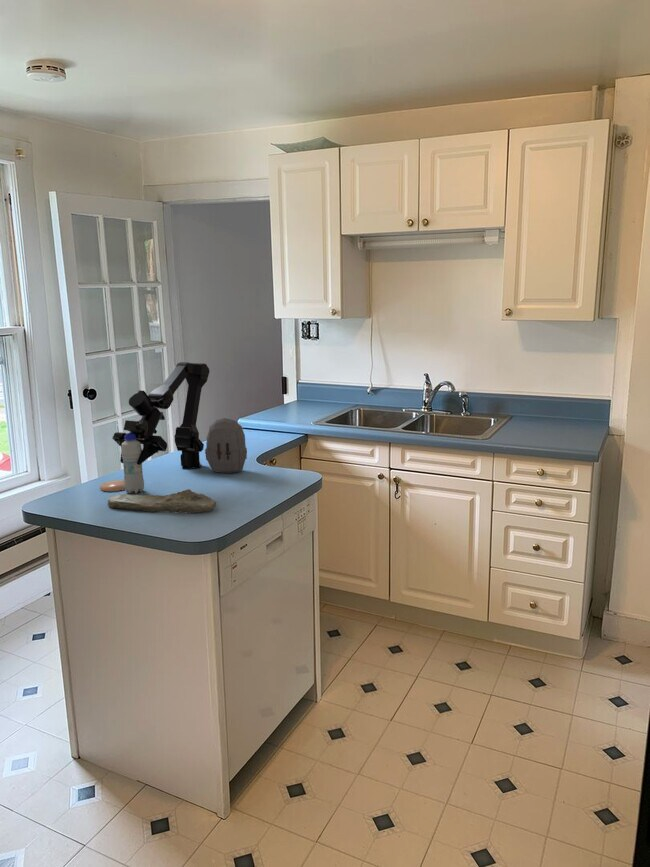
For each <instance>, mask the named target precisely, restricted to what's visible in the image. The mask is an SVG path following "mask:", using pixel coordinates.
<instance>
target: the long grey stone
mask: <svg viewBox="0 0 650 867" xmlns="http://www.w3.org/2000/svg"><path fill="white" fill-rule="evenodd" d="M107 506H108V507H109V508H110V507H111V508H112V509H113V508H114V509H116V508H117V509H124V510H132V511H144V512H156V511H157V512H168V513H175V512H178V513H186V512H187V513H186V514H194V513H203V512H208V511H209V512H210V511H211V512H212V511H213V510H215V508H216V507H217V502H216V501H215V499H212V497H210V496H207V495H205V494H204V493H197V492H196V491H195V492H194V491H192V490H191V489H185V490H182V491H178V492H176V493H171V494H169V495H168V494H166V495H154V494H153V495H152V494H148V495H145V494H128V493H127V494H125V493H122V494H121V493H120V494H116V495H115V494H114V495H113V496H110V497H109V498H108V500H107Z"/></svg>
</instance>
